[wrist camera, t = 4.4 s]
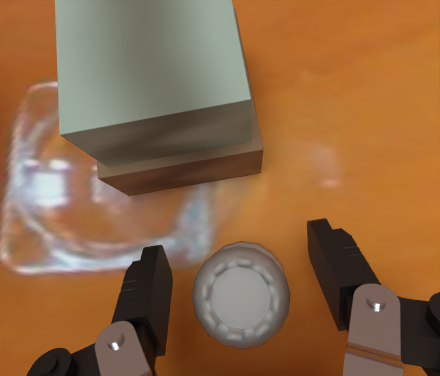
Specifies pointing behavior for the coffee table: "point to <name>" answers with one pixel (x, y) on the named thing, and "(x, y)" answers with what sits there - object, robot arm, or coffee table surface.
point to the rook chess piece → (241, 295)
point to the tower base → (156, 91)
